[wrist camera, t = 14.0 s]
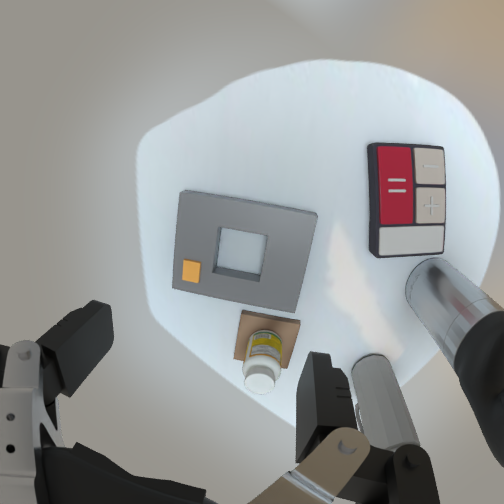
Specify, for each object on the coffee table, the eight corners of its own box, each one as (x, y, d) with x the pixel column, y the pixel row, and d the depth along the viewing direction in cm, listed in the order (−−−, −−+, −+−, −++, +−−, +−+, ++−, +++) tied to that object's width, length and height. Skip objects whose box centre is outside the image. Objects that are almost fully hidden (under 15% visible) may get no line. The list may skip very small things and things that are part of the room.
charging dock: (315, 212, 38) (318, 217, 35) (294, 304, 43) (294, 315, 40) (185, 190, 39) (178, 192, 36) (177, 281, 44) (170, 289, 41)
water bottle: (365, 345, 44) (404, 473, 20) (398, 360, 44) (443, 474, 20) (334, 382, 47) (349, 505, 23) (367, 393, 47) (391, 506, 23)
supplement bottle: (264, 322, 43) (257, 362, 34) (289, 342, 44) (289, 384, 35) (241, 343, 45) (230, 383, 36) (266, 361, 45) (261, 403, 36)
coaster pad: (300, 320, 44) (300, 324, 42) (287, 364, 46) (287, 368, 45) (242, 309, 44) (241, 313, 43) (234, 354, 47) (233, 358, 46)
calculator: (446, 146, 30) (446, 255, 34) (432, 148, 34) (433, 248, 38) (373, 141, 31) (376, 260, 35) (364, 144, 36) (368, 251, 39)
